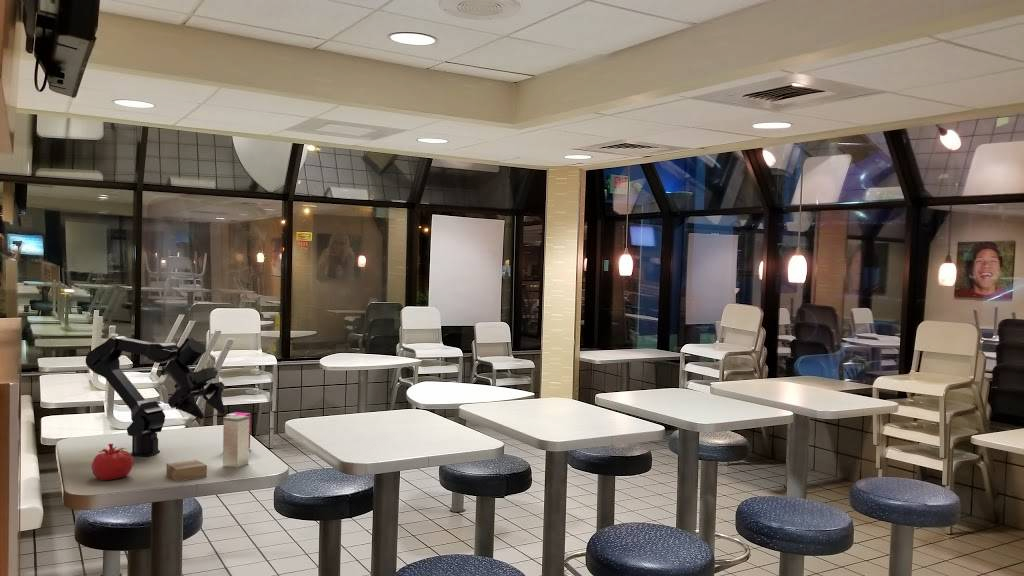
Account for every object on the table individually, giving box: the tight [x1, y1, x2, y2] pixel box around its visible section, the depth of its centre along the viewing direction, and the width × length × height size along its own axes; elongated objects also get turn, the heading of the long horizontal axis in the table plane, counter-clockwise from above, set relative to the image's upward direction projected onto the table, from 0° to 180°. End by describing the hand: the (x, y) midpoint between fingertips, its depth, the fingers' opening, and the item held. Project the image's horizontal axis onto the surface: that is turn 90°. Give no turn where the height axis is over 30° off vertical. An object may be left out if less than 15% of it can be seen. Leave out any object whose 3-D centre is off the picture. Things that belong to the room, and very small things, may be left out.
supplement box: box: [225, 411, 252, 449], centre depth 245 cm, size 6×6×12 cm
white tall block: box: [222, 415, 250, 469], centre depth 226 cm, size 5×5×14 cm
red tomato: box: [91, 443, 134, 481], centre depth 210 cm, size 10×10×9 cm
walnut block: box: [165, 459, 208, 482], centre depth 214 cm, size 8×8×4 cm
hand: (213, 415), depth 229 cm, fingers open, 9 cm apart
